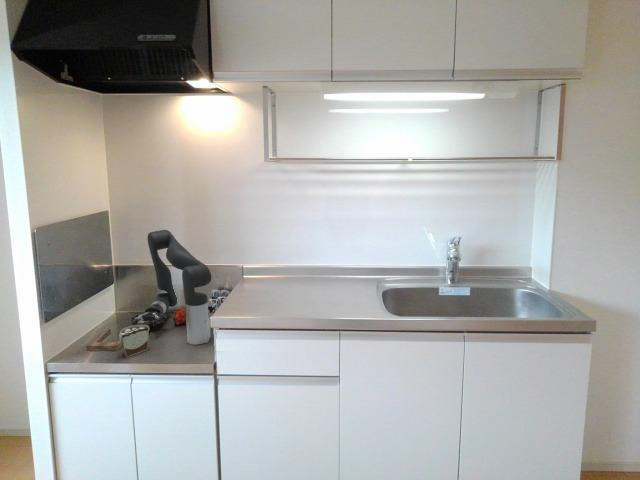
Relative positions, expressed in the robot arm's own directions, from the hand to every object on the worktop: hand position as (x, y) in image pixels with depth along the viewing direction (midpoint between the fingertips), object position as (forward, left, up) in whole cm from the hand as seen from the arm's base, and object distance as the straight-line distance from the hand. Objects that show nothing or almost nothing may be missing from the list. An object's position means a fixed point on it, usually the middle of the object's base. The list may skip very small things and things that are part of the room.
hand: (143, 324), depth 191 cm
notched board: (+13, +3, -7) cm, 15 cm away
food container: (0, +13, -7) cm, 14 cm away
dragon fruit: (-12, -17, -7) cm, 22 cm away
